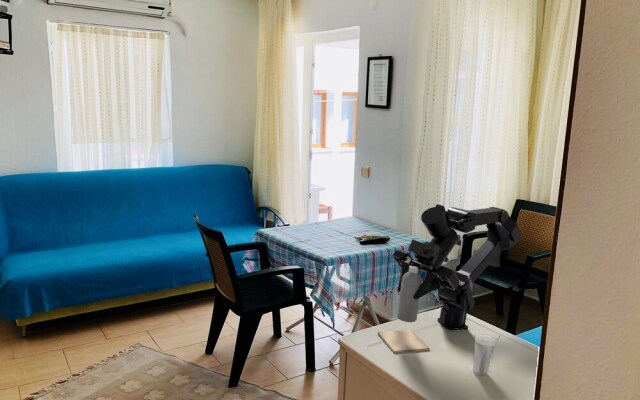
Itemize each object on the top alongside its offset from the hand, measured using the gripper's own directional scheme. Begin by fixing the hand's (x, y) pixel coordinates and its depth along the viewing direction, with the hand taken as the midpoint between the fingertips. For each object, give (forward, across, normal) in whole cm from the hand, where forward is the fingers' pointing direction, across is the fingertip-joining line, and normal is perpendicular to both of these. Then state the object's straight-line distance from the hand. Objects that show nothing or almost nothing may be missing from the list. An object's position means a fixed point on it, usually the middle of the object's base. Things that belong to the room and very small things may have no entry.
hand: (406, 294), depth 127 cm
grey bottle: (+4, 0, +6) cm, 7 cm away
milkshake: (+5, +20, +15) cm, 25 cm away
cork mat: (+9, 0, +10) cm, 14 cm away
